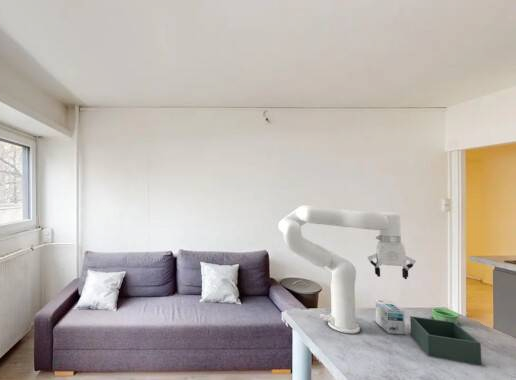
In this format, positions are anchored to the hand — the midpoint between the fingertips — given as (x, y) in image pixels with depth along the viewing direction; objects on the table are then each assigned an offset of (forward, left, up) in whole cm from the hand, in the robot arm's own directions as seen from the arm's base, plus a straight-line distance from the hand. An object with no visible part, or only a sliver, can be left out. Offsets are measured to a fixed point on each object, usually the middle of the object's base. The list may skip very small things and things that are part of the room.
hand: (391, 277), depth 119 cm
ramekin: (+25, +18, -24) cm, 39 cm away
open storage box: (+13, -10, -24) cm, 29 cm away
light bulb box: (-1, +1, -24) cm, 24 cm away
